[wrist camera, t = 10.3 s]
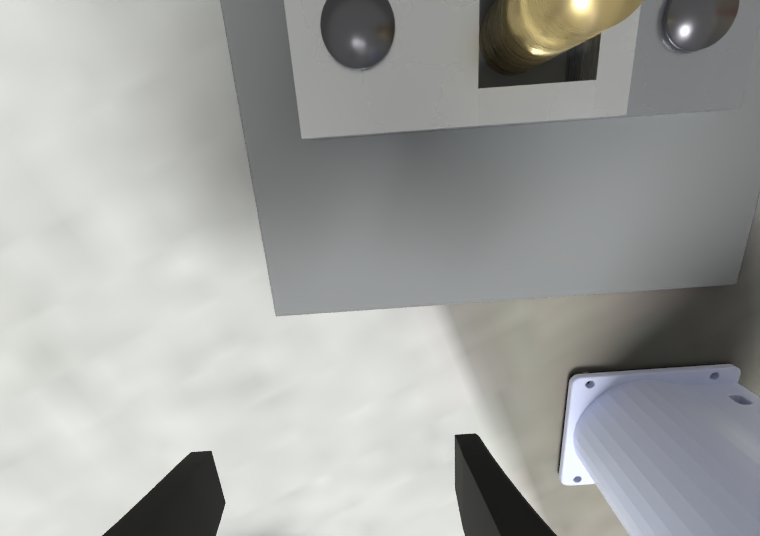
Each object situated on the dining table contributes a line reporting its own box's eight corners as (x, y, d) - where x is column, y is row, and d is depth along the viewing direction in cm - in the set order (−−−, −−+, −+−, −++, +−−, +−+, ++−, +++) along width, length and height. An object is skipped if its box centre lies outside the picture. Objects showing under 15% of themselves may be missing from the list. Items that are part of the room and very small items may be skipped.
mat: (837, -168, 13) (854, -180, 13) (727, 281, 19) (736, 284, 19) (204, -117, 14) (197, -127, 13) (278, 312, 19) (275, 316, 19)
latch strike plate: (754, -87, 14) (841, -141, 11) (713, 111, 16) (779, 103, 13) (288, -50, 14) (269, -96, 11) (312, 140, 16) (300, 138, 14)
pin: (553, -11, 14) (670, -116, 9) (548, 72, 15) (650, 26, 10) (479, -4, 14) (547, -105, 9) (478, 78, 15) (540, 35, 10)
